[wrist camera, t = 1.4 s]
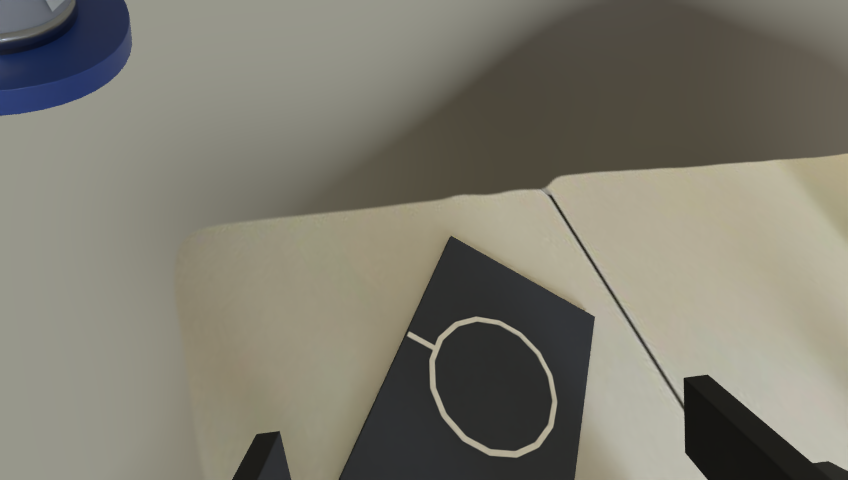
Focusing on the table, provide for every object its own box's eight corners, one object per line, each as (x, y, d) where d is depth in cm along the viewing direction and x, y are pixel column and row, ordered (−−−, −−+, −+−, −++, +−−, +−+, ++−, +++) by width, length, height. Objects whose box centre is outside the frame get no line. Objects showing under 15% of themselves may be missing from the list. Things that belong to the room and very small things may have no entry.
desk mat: (336, 484, 28) (338, 482, 28) (449, 238, 43) (451, 235, 42) (555, 600, 29) (560, 600, 28) (592, 318, 43) (595, 316, 43)
